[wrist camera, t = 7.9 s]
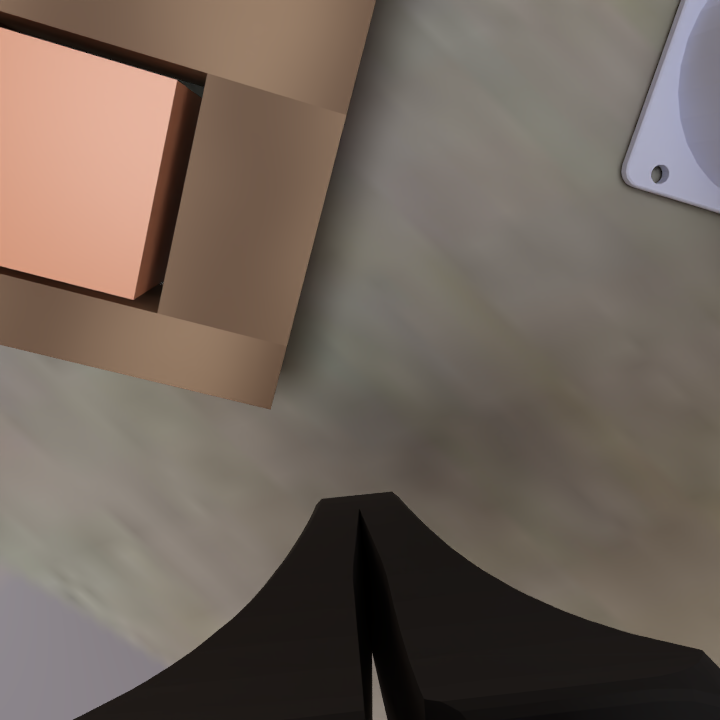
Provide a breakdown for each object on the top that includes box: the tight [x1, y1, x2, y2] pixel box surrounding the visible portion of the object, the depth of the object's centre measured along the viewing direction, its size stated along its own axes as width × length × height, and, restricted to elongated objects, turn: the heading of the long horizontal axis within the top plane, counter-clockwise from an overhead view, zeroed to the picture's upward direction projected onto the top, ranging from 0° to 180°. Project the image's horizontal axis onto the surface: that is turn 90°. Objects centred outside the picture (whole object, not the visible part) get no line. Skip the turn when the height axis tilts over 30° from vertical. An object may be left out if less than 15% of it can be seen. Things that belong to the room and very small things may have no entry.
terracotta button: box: [0, 27, 202, 300], centre depth 16 cm, size 5×5×4 cm
